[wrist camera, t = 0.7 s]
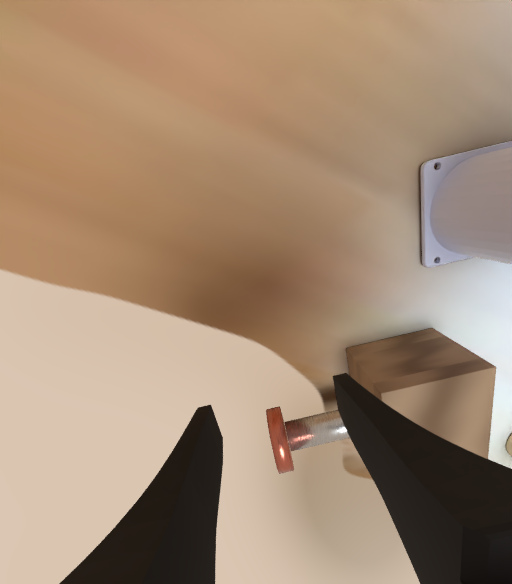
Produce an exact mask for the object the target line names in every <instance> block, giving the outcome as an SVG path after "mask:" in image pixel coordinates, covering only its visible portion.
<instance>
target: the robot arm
mask: <svg viewBox="0 0 512 584" xmlns="http://www.w3.org/2000/svg"><path fill="white" fill-rule="evenodd" d="M435 163H436V164H437V168H436V170H435V169H434V165H435ZM421 224H422V264H423V265H424V266H425V267H428V268H430V267H435V266H439V265H443V264H447V263H452V262H456V261H460V260H464V259H468V258H473V257H478V258H483V259H488V260H493V261H498V262H503V263H508V264H512V141H508V142H504V143H500V144H496V145H492V146H487V147H483V148H479V149H475V150H471V151H467V152H463V153H458V154H454V155H450V156H446V157H442V158H438V159H434V160H430V161H426V162H424V163H423V164H422V166H421ZM436 257H437V260H436V261H435V262H434V259H435V258H436ZM333 380H334V386H335V393H336V399H337V405H338V411H339V414H340V416H341V419H342V421H343V423H344V426H345V428H346V430H347V433H348V435H349V437H350V438H351V440H352V442H353V444H354V446H355V448H356V449H357V451H358V453H359V455H360V457H361V458H362V460H363V462H364V464H365V466H366V468H367V469H368V471H369V473H370V475H371V477H372V478H373V480H374V482H375V484H376V486H377V488H378V490H379V492H380V494H381V495H382V498H383V500H384V502H385V504H386V506H387V509H388V511H389V513H390V515H391V517H392V519H393V522H394V524H395V526H396V529H397V531H398V533H399V535H400V538H401V540H402V542H403V545H404V547H405V549H406V551H407V554H408V556H409V558H410V560H411V563H412V565H413V567H414V570H415V572H416V574H417V577H418V579H419V582H420V584H512V469H510V468H508V467H505V466H503V465H500V464H498V463H496V462H493V461H491V460H489V459H486V458H484V457H481V456H479V455H477V454H475V453H472V452H470V451H468V450H466V449H464V448H462V447H460V446H458V445H456V444H454V443H451V442H449V441H447V440H445V439H443V438H441V437H439V436H437V435H436V434H434V433H432V432H430V431H428V430H426V429H425V428H423V427H421V426H419V425H418V424H416V423H414V422H413V421H411V420H410V419H408V418H406V417H405V416H403V415H402V414H400V413H399V412H397V411H396V410H394V409H393V408H391V407H390V406H388V405H387V404H386V403H384V402H383V401H381V400H380V399H379V398H377V397H376V396H374V395H373V394H372V393H371V392H369V391H368V390H367V389H365V388H364V387H363V386H362V385H360V384H359V383H358V382H357V381H355V380H354V379H353V378H352V377H351V376H349V375H348V374H347V373H344V374H340V375H336V376H333ZM222 465H223V437H222V435H221V432H220V429H219V426H218V423H217V421H216V418H215V415H214V412H213V410H212V407H211V405H208V406H203V407H199V408H198V409H197V410H196V412H195V413H194V415H193V417H192V419H191V421H190V423H189V424H188V426H187V428H186V429H185V431H184V433H183V435H182V436H181V438H180V440H179V441H178V443H177V445H176V446H175V448H174V449H173V451H172V453H171V454H170V456H169V457H168V459H167V460H166V462H165V463H164V465H163V467H162V468H161V470H160V471H159V473H158V474H157V475H156V477H155V478H154V479H153V481H152V482H151V484H150V485H149V486H148V488H147V489H146V490H145V492H144V493H143V494H142V496H141V497H140V498H139V499H138V501H137V502H136V503H135V504H134V505H133V507H132V508H131V509H130V510H129V511H128V512H127V514H126V515H125V516H124V517H123V518H122V519H121V521H120V522H119V523H118V524H117V525H116V527H115V528H114V529H113V530H112V531H111V532H110V533H109V534H108V535H107V536H106V537H105V539H104V540H103V541H102V542H101V543H100V544H99V545H98V546H97V547H96V548H95V549H94V550H93V551H92V552H91V553H90V554H89V555H88V556H87V557H86V559H84V561H82V562H81V563H80V564H79V565H78V566H77V567H76V568H75V569H74V570H73V571H72V572H71V573H70V574H69V575H68V576H67V577H66V578H65V579H64V580H63V581H62V582H61V583H60V584H215V553H216V552H215V551H216V527H217V515H218V504H219V495H220V486H221V476H222V475H221V474H222Z"/></svg>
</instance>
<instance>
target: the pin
mask: <svg viewBox="0 0 512 584" xmlns="http://www.w3.org/2000/svg"><path fill="white" fill-rule="evenodd" d="M266 413H267V422H268V428H269V434H270V439H271V444H272V449H273V453H274V457H275V462H276V465H277V469H278V472H279V474H280V473H284V472H288V471H293V470H294V466H293V461H292V456H291V452H290V449H291V451H294V450H299V449H303V448H307V447H311V446H316V445H320V444H324V443H329V442H333V441H337V440H342V439H346V438H350V437H349V435H348V433H347V430H346V428H345V426H344V423H343V421H342V419H341V416H340V414H339V411H338V410H334V411H330V412H326V413H322V414H317V415H313V416H309V417H304V418H301V419H296V420H291V421H287V422H285V425H284V421H283V417H282V413H281V409H280V407H275V408H271V409H267V410H266ZM285 428H286V429H285ZM286 432H287V434H286ZM287 437H288V438H287ZM288 441H289V443H288ZM289 445H290V447H289Z"/></svg>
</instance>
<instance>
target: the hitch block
mask: <svg viewBox="0 0 512 584" xmlns="http://www.w3.org/2000/svg"><path fill="white" fill-rule="evenodd" d="M346 351H347V359H348V366H349V374H350V376H351V377H352V378H353V379H354V380H355V381H357V382H358V383H359V384H360V385H362V386H363V387H364V388H365V389H367V390H368V391H369V392H371V393H372V394H373V395H374V396H376V397H377V398H379V399H380V400H381V401H383V402H384V403H386V404H387V405H388V406H390V407H391V408H393V409H394V410H396V411H397V412H399V413H400V414H402V415H403V416H405V417H406V418H408V419H410V420H411V421H413V422H414V423H416V424H418V425H419V426H421V427H423V428H425V429H426V430H428V431H430V432H432V433H434V434H436V435H437V436H439V437H441V438H443V439H445V440H447V441H449V442H451V443H454V444H456V445H458V446H460V447H462V448H464V449H466V450H468V451H470V452H472V453H475V454H477V455H479V456H481V457H484V458H486V459H488V451H489V440H490V429H491V418H492V407H493V396H494V385H495V374H496V367H495V366H494V365H492V364H490V363H489V362H487V361H486V360H484V359H482V358H481V357H479V356H477V355H476V354H474V353H472V352H471V351H469V350H468V349H466V348H464V347H463V346H461V345H459V344H458V343H456V342H454V341H453V340H451V339H450V338H448V337H446V336H445V335H443V334H441V333H440V332H438V331H436V330H435V329H433V328H430V329H426V330H421V331H417V332H413V333H409V334H404V335H400V336H396V337H392V338H387V339H383V340H379V341H375V342H370V343H366V344H362V345H358V346H353V347H349V348H346Z"/></svg>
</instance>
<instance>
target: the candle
mask: <svg viewBox="0 0 512 584" xmlns="http://www.w3.org/2000/svg"><path fill="white" fill-rule="evenodd" d="M506 448H507V451H508V453H509V454H510V455H511V456H512V434H511V436H510V437H509V439H508V441H507V445H506Z"/></svg>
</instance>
